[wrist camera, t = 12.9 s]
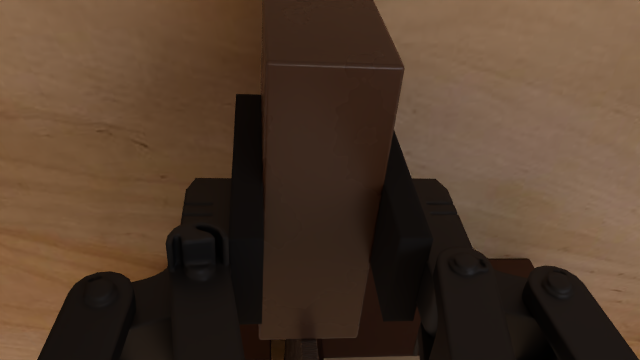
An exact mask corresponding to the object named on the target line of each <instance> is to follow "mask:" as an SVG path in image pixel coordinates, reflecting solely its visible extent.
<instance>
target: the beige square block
mask: <svg viewBox="0 0 640 360" xmlns="http://www.w3.org/2000/svg"><path fill="white" fill-rule="evenodd" d="M489 261H490V263H491V265H492V267H493V268H494V269H496V270H498V271H501V272H504V273H508V274H512V275H516V276H521V277H525V278H528V276H529V273H530V272H531V271H532V270H534V269H535V268H534V266H533V265H532V263H531V261H530V260H529V259H498V260H489ZM420 322H421V318H420V315H419V311H418V308H417V307H416V311H415V315H414V319H413V321H388V322H383V319H382V314H381V310H380V305H379V301H378V296H377V292H376V287H375V283H374V278H373V274H372V269H371V265H370V267H369V273H368V279H367V284H366V290H365V296H364V302H363V307H362V313H361V319H360V324H359V330H358V335H357V337H356V338H320V339H317V349H318V358H319V360H420V356H419V351H418V354H417V356H413V350H414V345H415V342H416V338H417V334H418V330H419V326H420Z"/></svg>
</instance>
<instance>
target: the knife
mask: <svg viewBox="0 0 640 360" xmlns="http://www.w3.org/2000/svg"><path fill="white" fill-rule="evenodd" d="M403 74H404V65H403V63H402V61H401V58H400V56H399V54H398V52H397V50H396V48H395V46H394V43H393V41H392V39H391V37H390V35H389V33H388V31H387V28H386V26H385V24H384V22H383V20H382V18H381V16H380V13H379V11H378V9H377V7H376V5H375V3H374V1H373V0H263V3H262V53H261V134H262V182H263V215H264V259H263V301H262V324H258V337H259V339H261V340H273V339H285V354H284V360H319V358H318V349H317V339H320V338H356V337H357V335H358V330H359V324H360V319H361V313H362V307H363V302H364V296H365V290H366V284H367V279H368V273H369V267H370V261H371V255H372V249H373V243H374V238H375V232H376V226H377V220H378V215H379V209H380V203H381V197H382V192H383V186H384V182H385V176H386V171H387V165H388V159H389V154H390V148H391V142H392V137H393V131H394V125H395V120H396V114H397V108H398V102H399V97H400V91H401V85H402V80H403Z"/></svg>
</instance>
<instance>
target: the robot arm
mask: <svg viewBox="0 0 640 360" xmlns="http://www.w3.org/2000/svg"><path fill="white" fill-rule="evenodd" d="M166 251H167V260H168V267H167V268H166V269H165V270H164V271H163V272H161V273H159V274H157V275H155V276H152V277H150V278H147V279H143V280H139V281H135V282H131V281H130V279H128V278H127V277H125V276H124V275H122V274H120V273H115V272H110V271H109V272H97V273H95V274H92V275H89V276H86V277H84V278H83V279H81V280H80V281H78V282H77V283H75V285H74V286H73V287H72V289H71V290H70V291H69V293H68V295H67V297H66V299H65V301H64V303H63V306H62V308H61V310H60V312H59V314H58V316H57V318H56V321H55V323H54V325H53V327H52V329H51V331H50V333H49V336H48V338H47V340H46V342H45V344H44V346H43V348H42V351H41V353H40V355H39V357H38V359H37V360H245V356H244V350H243V344H242V338H241V332H240V326H239V325H244V324H262V301H263V259H264V215H263V182H262V134H261V95H249V94H236V107H235V126H234V144H233V162H232V178H195V180H194V181H193V182H192V183H191V184H190V186H189V187H188V188H187V189H186V193H185V199H184V206H183V212H182V218H181V225H180V226H178V227H176V228H174V229H173V230H172V231H171V232H170V234H169V235H168V236H167V240H166ZM370 265H371V269H372V274H373V278H374V283H375V287H376V292H377V296H378V301H379V305H380V310H381V314H382V319H383V322H388V321H413V319H414V315H415V311H416V307H417V308H418V311H419V315H420V318H421V322H420V326H419V330H418V334H417V338H416V342H415V345H414V350H413V356H417V354H418V351H419V356H420V360H639V359H638V358H637V356H636V355H635V353H634V352H633V351H632V349H631V348H630V347H629V345H628V344H627V343H626V341H625V340H624V338H623V337H622V336H621V334H620V333H619V332H618V330H617V329H616V327H615V326H614V325H613V323H612V322H611V321H610V319H609V318H608V316H607V315H606V314H605V312H604V311H603V310H602V308H601V307H600V305H599V304H598V303H597V301H596V300H595V299H594V297H593V296H592V294H591V293H590V292H589V290H588V289H587V288H586V286H585V285H584V284H583V283H582V282H581V281H580V280H579V279H578V277H577V276H575V275H573V274H572V273H570V272H568V271H567V270H564V269H561V268H558V267H555V266H541V267H537V268H535V269H534V270H532V271H531V272H530V273H529V276H528V278H525V277H521V276H516V275H512V274H508V273H504V272H501V271H498V270H496V269H494V268H493V267H492V265H491V263H490V261H489V260H488V259H487V258H486V257H485V256H484V255H483V254H482V253H480V252H478V251H476V250H474V249H473V248H472V245H471V243H470V241H469V238H468V236H467V234H466V232H465V229H464V227H463V225H462V222H461V220H460V218H459V215H457V211H456V209H455V206H454V205H453V202H452V199H451V197H450V195H449V192H448V190H447V189H446V188H445V187H444V186H443V185H442V184H441V183H439V182H438V181H437V180H436V179H412V178H411V176H410V173H409V170H408V167H407V164H406V162H405V159H404V156H403V153H402V151H401V148H400V145H399V142H398V140H397V137H396V134H395V131H393V137H392V142H391V148H390V154H389V159H388V165H387V171H386V176H385V182H384V186H383V192H382V197H381V203H380V209H379V215H378V220H377V226H376V232H375V238H374V243H373V249H372V255H371V261H370Z"/></svg>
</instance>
